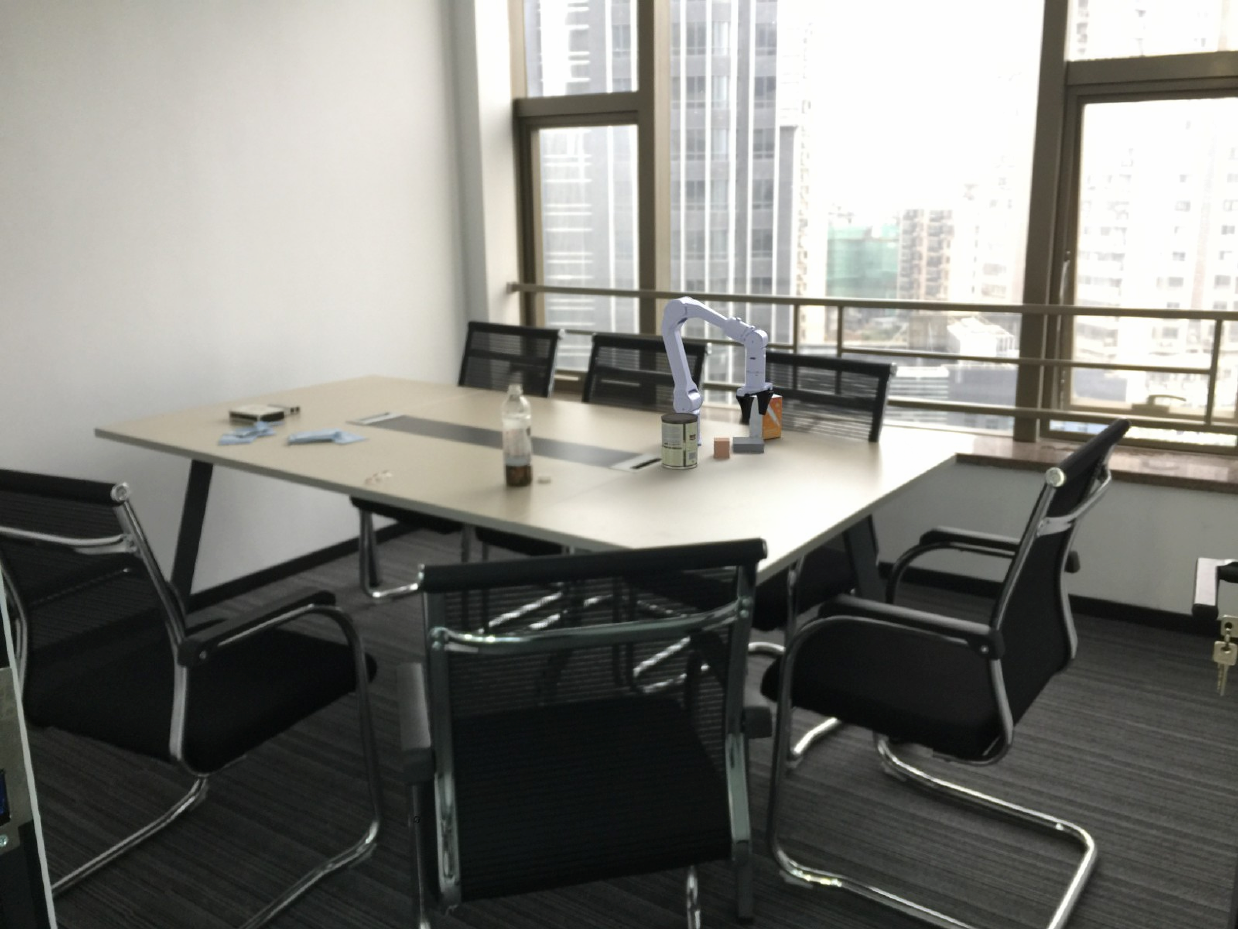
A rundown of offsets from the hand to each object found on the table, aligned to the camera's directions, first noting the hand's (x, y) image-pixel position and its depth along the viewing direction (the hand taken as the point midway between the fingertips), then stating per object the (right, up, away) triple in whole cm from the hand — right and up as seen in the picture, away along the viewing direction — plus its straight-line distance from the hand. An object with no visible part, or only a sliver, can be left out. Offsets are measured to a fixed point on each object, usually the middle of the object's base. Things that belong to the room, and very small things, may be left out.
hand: (754, 416), depth 318 cm
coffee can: (-23, -15, -16) cm, 31 cm away
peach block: (-10, -12, -6) cm, 17 cm away
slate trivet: (-2, -10, +2) cm, 10 cm away
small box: (+6, -6, +17) cm, 19 cm away
